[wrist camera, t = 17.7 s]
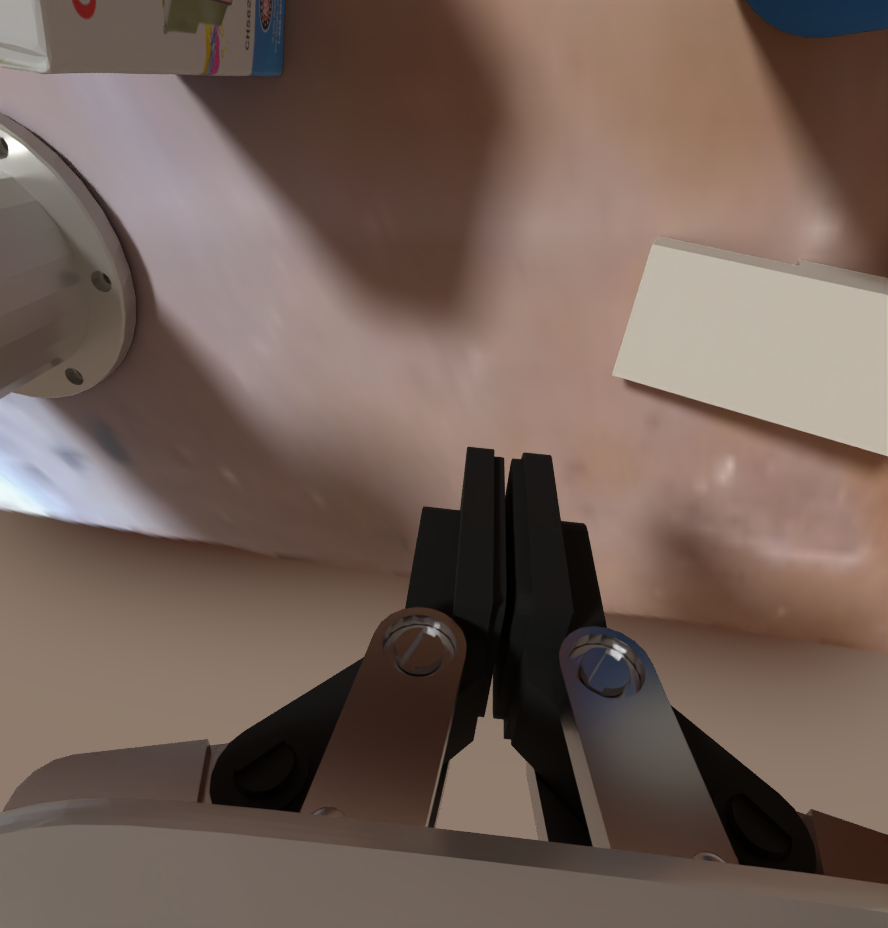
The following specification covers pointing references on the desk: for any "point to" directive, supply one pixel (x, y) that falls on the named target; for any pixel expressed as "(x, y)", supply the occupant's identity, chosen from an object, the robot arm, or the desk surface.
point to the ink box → (143, 36)
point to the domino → (763, 340)
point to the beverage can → (823, 16)
